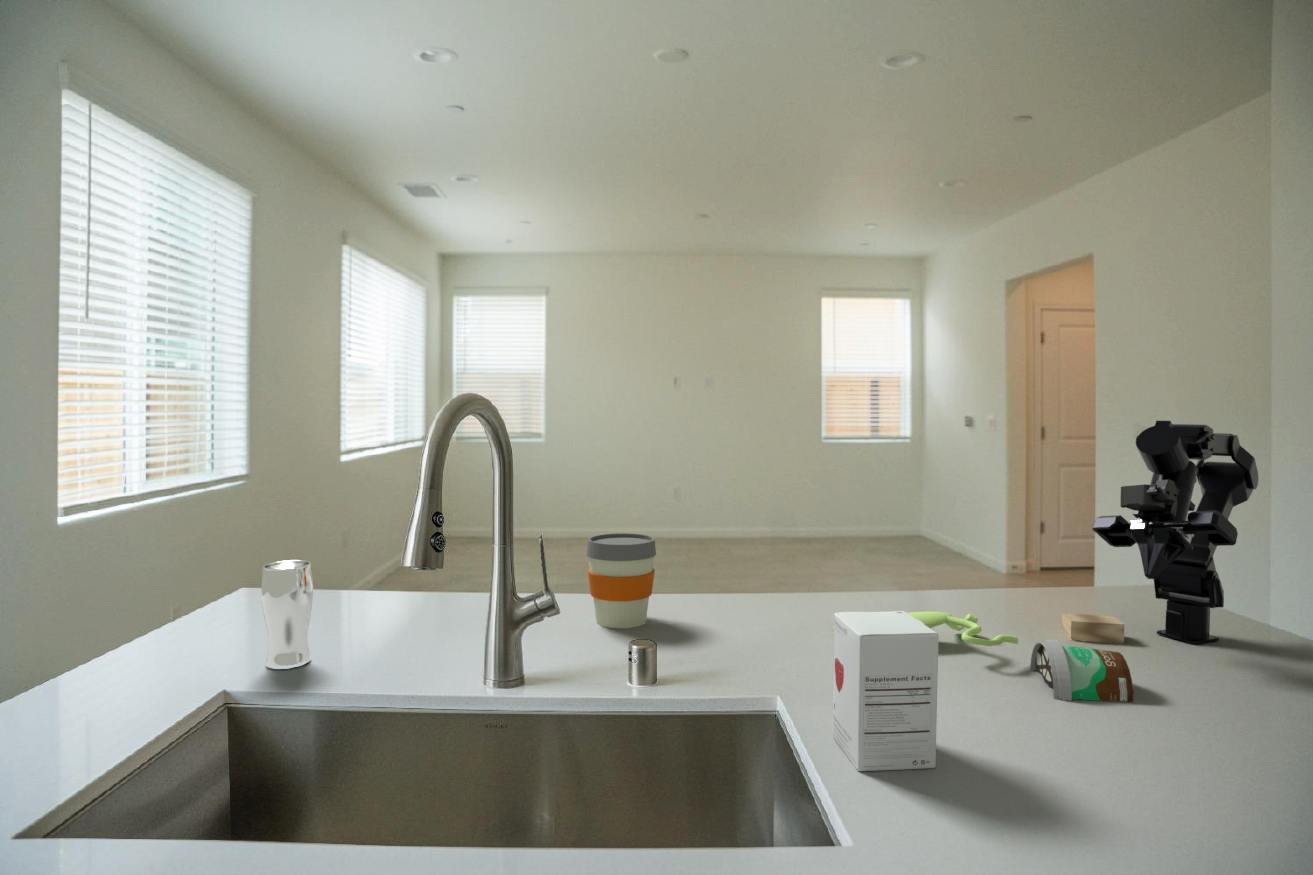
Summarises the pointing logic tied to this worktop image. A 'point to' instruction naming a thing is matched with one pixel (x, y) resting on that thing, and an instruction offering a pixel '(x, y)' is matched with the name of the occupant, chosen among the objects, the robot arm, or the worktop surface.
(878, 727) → the supplement box
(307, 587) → the beer glass
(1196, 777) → the worktop surface
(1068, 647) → the food container
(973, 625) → the figurine
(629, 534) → the reusable coffee cup
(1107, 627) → the oak block
